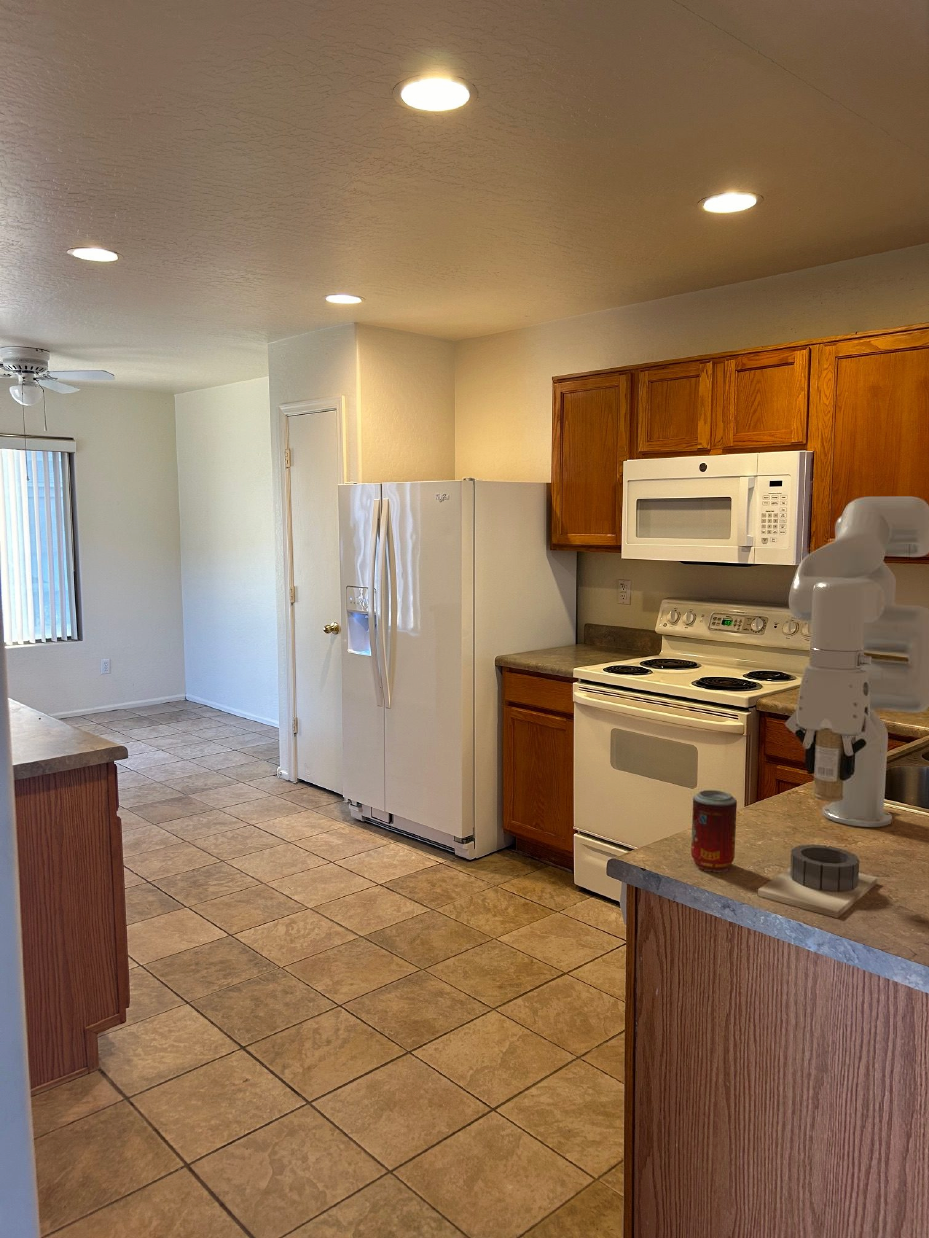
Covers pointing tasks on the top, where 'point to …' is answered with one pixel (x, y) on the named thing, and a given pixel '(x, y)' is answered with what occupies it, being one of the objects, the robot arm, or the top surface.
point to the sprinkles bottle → (828, 764)
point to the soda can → (713, 830)
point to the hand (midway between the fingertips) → (829, 774)
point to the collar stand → (820, 880)
